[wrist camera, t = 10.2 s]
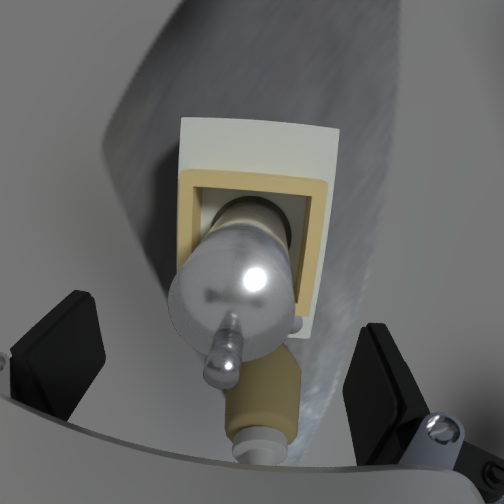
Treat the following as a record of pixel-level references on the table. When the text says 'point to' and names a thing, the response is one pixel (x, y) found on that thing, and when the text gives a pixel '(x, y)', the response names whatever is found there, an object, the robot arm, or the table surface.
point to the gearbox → (261, 190)
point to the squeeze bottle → (264, 408)
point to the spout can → (235, 292)
